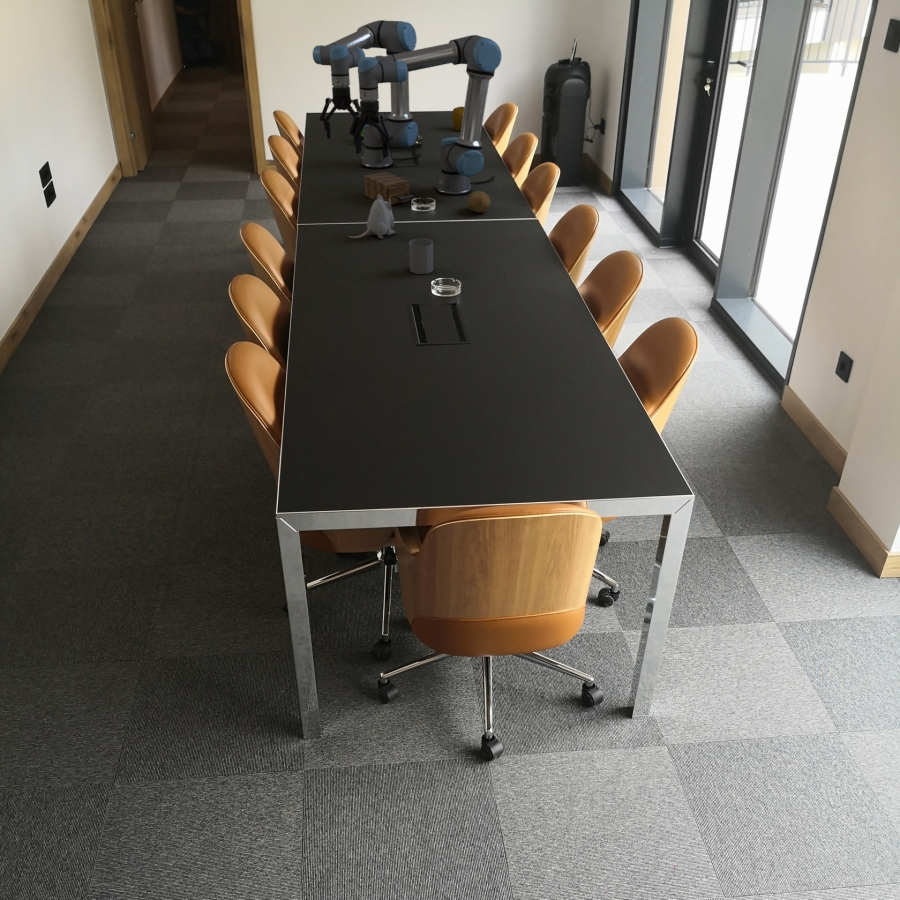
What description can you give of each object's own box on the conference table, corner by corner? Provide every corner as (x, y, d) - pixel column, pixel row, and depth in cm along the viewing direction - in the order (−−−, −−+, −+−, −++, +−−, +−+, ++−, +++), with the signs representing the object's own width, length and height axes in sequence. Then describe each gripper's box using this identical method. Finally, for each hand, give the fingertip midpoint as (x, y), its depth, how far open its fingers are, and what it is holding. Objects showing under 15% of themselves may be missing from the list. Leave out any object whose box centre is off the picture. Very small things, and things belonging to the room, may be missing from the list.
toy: (401, 233, 341) (400, 195, 333) (356, 248, 326) (354, 209, 318) (385, 228, 346) (384, 190, 338) (340, 243, 331) (337, 204, 323)
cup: (409, 265, 311) (408, 238, 306) (432, 265, 312) (431, 238, 307) (410, 274, 304) (409, 246, 299) (433, 273, 305) (433, 246, 299)
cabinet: (408, 201, 378) (407, 180, 373) (386, 205, 372) (385, 185, 367) (386, 191, 390) (385, 171, 385) (365, 196, 384) (364, 175, 379)
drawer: (416, 203, 372) (416, 187, 368) (397, 207, 367) (396, 191, 363) (389, 191, 387) (388, 175, 383) (370, 195, 382) (369, 179, 378)
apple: (471, 132, 486) (471, 108, 479) (451, 132, 486) (451, 108, 479) (470, 128, 495) (471, 104, 488) (452, 128, 495) (452, 104, 488)
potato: (488, 206, 371) (488, 187, 367) (492, 216, 359) (492, 197, 355) (465, 206, 370) (465, 188, 366) (468, 217, 358) (468, 197, 354)
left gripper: (309, 86, 361) (313, 139, 372) (367, 89, 357) (369, 142, 368) (315, 83, 367) (319, 135, 379) (372, 85, 363) (374, 138, 375)
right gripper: (338, 98, 346) (342, 153, 358) (389, 105, 335) (392, 161, 347) (349, 95, 352) (353, 149, 363) (400, 101, 341) (402, 156, 352)
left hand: (344, 139), depth 373 cm, fingers open, 13 cm apart
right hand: (372, 155), depth 355 cm, fingers open, 13 cm apart
